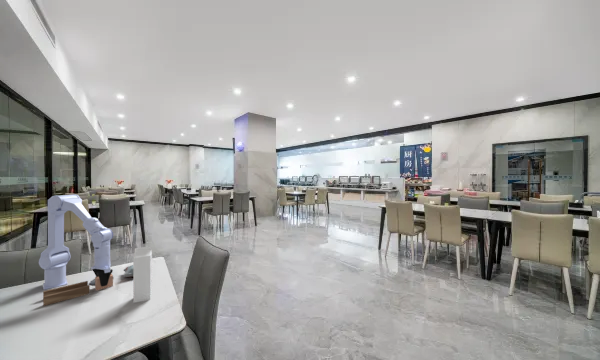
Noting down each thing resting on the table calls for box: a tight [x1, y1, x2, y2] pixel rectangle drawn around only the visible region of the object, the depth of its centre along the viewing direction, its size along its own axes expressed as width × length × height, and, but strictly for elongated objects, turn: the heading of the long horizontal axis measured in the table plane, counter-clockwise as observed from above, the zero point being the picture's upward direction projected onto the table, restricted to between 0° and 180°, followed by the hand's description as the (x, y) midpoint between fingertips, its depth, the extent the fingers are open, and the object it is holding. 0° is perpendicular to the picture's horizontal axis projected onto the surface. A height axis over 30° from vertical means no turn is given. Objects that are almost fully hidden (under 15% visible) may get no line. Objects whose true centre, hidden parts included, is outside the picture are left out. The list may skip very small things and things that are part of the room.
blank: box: [94, 273, 114, 291], centre depth 113 cm, size 4×6×5 cm, turn 138°
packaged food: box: [122, 264, 133, 278], centre depth 126 cm, size 9×12×5 cm
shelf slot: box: [42, 280, 90, 307], centre depth 103 cm, size 8×14×4 cm, turn 137°
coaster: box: [89, 276, 115, 286], centre depth 119 cm, size 9×9×1 cm
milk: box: [132, 246, 153, 304], centre depth 102 cm, size 6×6×22 cm
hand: (102, 284), depth 112 cm, fingers closed on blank, 4 cm apart
